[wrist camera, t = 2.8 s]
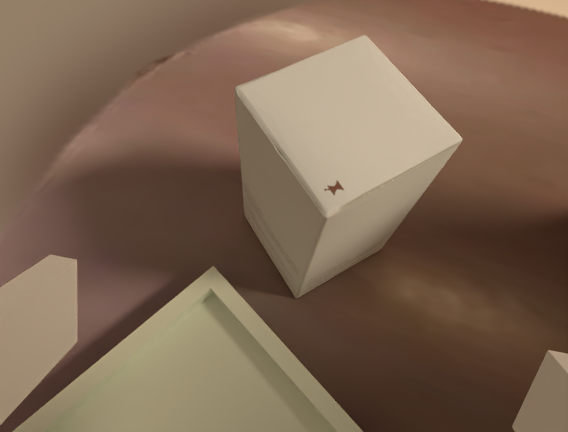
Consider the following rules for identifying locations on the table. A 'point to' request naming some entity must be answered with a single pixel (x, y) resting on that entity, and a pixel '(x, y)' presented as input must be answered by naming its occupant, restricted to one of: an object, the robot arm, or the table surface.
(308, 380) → the tray
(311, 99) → the supplement box
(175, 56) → the table surface
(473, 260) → the table surface
